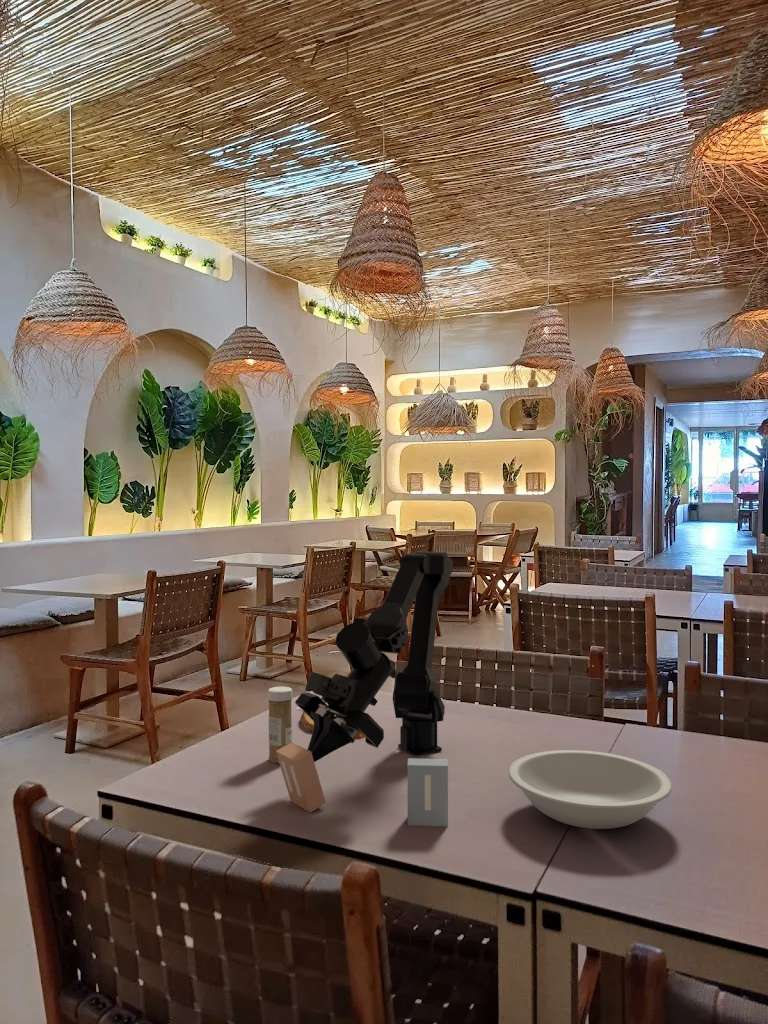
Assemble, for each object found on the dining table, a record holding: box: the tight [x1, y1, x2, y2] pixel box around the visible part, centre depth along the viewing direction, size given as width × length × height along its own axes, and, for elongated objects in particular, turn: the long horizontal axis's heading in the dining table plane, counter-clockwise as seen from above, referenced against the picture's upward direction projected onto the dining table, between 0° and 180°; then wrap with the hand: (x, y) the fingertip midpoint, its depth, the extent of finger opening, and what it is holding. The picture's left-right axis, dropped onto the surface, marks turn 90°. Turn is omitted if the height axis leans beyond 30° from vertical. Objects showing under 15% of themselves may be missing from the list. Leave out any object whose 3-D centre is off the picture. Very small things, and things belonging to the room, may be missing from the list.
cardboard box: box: [276, 741, 326, 813], centre depth 118 cm, size 3×6×9 cm, turn 38°
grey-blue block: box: [407, 758, 449, 827], centre depth 112 cm, size 3×6×9 cm, turn 87°
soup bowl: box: [507, 749, 673, 830], centre depth 113 cm, size 24×24×7 cm
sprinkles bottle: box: [267, 686, 293, 764], centre depth 140 cm, size 5×5×14 cm
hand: (307, 762), depth 118 cm, fingers closed
